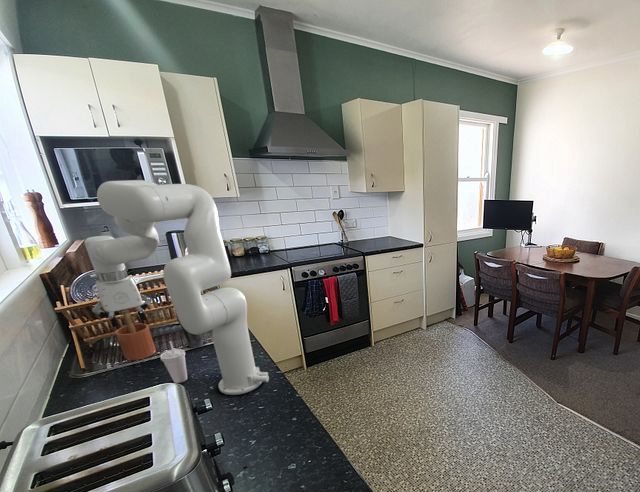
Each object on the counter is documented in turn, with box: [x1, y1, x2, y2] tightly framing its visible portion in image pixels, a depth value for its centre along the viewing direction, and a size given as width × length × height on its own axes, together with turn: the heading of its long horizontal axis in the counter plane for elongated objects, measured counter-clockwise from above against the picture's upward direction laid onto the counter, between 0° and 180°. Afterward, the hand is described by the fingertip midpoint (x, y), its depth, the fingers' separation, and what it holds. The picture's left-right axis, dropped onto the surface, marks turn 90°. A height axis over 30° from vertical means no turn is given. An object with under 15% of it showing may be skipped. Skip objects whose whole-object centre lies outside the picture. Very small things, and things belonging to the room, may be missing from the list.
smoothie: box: [159, 340, 188, 384], centre depth 108 cm, size 6×6×14 cm
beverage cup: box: [176, 316, 204, 348], centre depth 127 cm, size 7×7×20 cm
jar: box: [114, 322, 157, 361], centre depth 122 cm, size 9×9×10 cm
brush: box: [121, 309, 136, 334], centre depth 120 cm, size 5×5×16 cm
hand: (130, 324), depth 119 cm, fingers open, 6 cm apart
